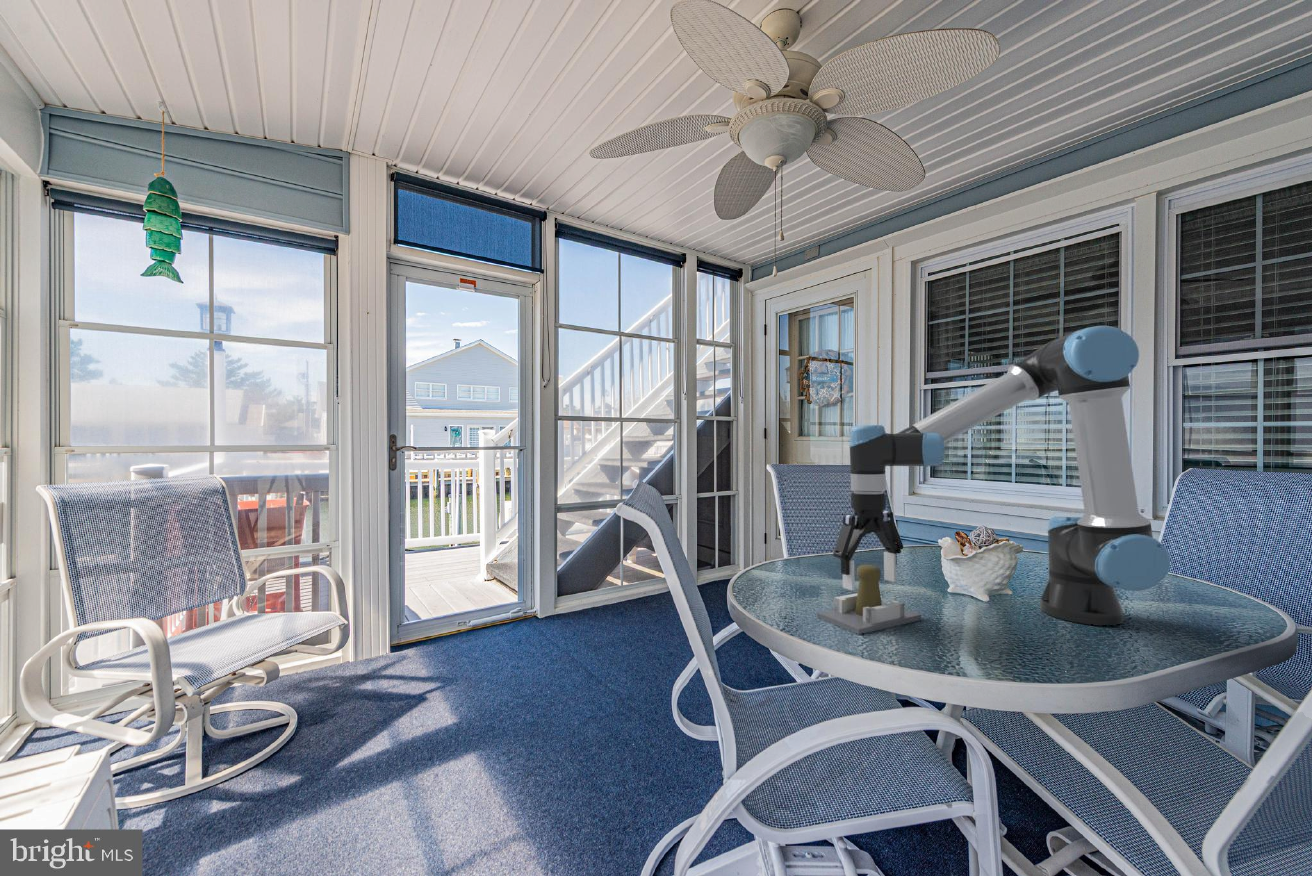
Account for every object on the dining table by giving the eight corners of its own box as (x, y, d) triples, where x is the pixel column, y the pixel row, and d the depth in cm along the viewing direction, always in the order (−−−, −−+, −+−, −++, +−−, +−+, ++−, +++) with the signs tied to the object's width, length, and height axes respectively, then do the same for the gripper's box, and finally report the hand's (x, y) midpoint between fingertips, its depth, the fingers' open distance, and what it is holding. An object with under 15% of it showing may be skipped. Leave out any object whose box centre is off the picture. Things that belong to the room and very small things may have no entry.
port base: (921, 619, 118) (920, 601, 119) (858, 634, 109) (858, 614, 109) (877, 605, 129) (877, 588, 129) (817, 617, 120) (817, 599, 120)
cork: (880, 619, 115) (880, 570, 115) (852, 614, 118) (852, 566, 118) (885, 612, 120) (885, 564, 120) (857, 607, 124) (857, 561, 124)
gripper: (891, 488, 129) (892, 574, 128) (815, 494, 117) (817, 588, 117) (918, 490, 122) (920, 581, 122) (841, 496, 110) (843, 596, 110)
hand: (870, 584), depth 119 cm, fingers open, 13 cm apart
